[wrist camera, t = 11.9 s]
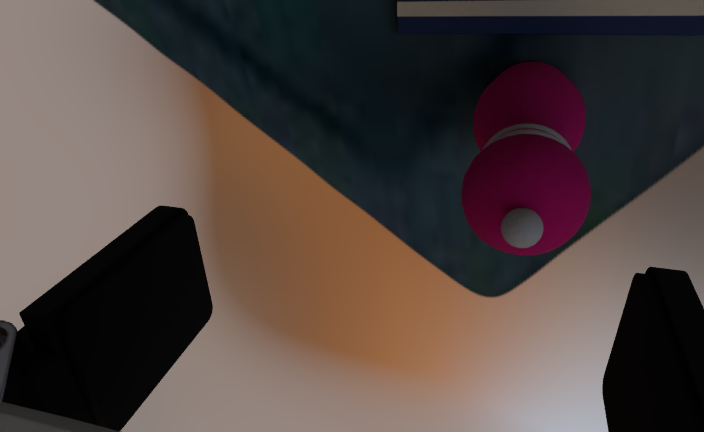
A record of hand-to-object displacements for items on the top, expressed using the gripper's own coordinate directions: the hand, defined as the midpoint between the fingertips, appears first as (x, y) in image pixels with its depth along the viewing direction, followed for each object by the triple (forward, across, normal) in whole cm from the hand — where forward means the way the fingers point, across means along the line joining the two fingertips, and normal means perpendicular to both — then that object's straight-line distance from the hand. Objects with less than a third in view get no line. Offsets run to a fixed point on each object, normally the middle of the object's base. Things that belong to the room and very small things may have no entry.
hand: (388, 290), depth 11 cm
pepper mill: (+31, -4, +5) cm, 32 cm away
